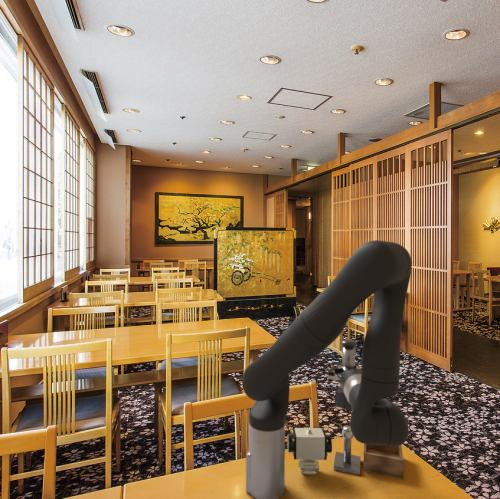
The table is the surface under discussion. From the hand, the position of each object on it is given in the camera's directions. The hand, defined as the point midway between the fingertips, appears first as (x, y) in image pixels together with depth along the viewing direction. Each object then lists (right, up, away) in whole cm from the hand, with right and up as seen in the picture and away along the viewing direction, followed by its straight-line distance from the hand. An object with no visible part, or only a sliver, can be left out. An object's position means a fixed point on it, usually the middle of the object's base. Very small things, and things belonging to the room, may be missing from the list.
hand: (346, 365), depth 102 cm
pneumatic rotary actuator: (-12, -28, -5) cm, 31 cm away
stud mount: (0, -28, -2) cm, 28 cm away
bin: (+10, -28, -2) cm, 29 cm away
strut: (0, -10, -3) cm, 11 cm away
